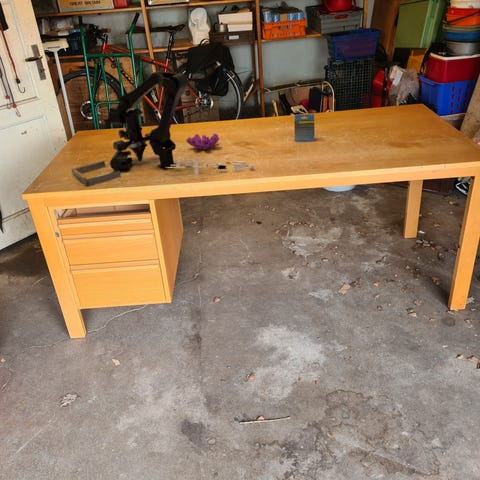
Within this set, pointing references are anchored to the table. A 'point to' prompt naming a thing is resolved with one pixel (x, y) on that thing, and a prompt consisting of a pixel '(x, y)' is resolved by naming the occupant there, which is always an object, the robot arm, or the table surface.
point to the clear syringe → (237, 164)
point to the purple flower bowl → (203, 141)
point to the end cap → (121, 161)
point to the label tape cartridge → (304, 128)
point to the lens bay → (97, 179)
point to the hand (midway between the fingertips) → (140, 161)
